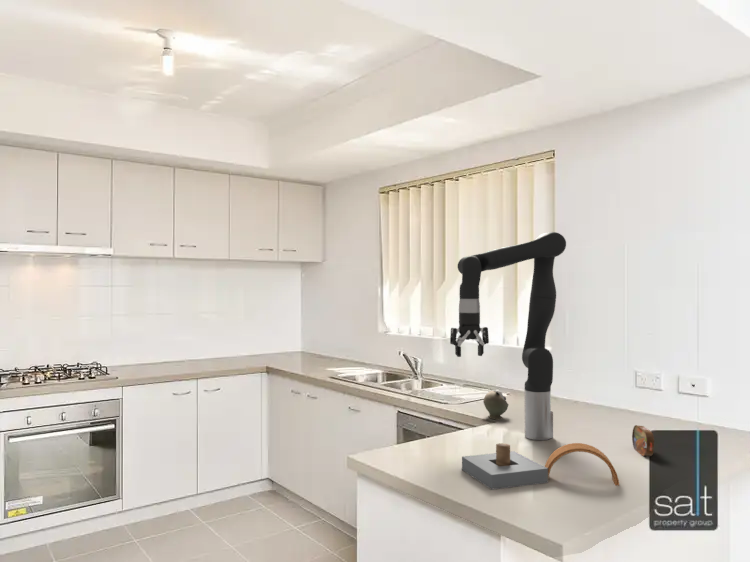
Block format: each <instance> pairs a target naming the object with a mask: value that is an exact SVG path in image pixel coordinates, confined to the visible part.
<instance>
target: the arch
mask: <svg viewBox="0 0 750 562" xmlns="http://www.w3.org/2000/svg"><path fill="white" fill-rule="evenodd" d="M578 452H579V453H588V454H590V455H594V456H596V457H598V458H599V459H600V460H602V461H603V462H604V463H605V464H606V465H607V467H608V468H609V470H610V474H611V481H612V483H613V484H614V485H615V486H616V487H617V486H620V480H619V476H618V473H617V471H616V469H615V467H614V466H613V464H612V462H611V461H610V459H609V458H608V456H606V454H605V453H604V452H602V451H601V450H600V449H599V448H597V447H595V446H593V445H590V444H587V443H581V442H575V443H574V442H573V443H567V444H565V445H561V446H560V447H558V448H556V449H555V450H554V451H553V452H552V453H551V454H550V455H549V457H548V458H547V460H546V463H545V465H544V467H546V468H548V479H549V477H550V473H551V471H552V468H553V466H554V464H555V463H557V461H558V460H560V458H562V457H564V456H566V455H568V454H571V453H578Z"/></svg>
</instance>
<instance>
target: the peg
mask: <svg viewBox="0 0 750 562" xmlns="http://www.w3.org/2000/svg"><path fill="white" fill-rule="evenodd" d="M495 448H496V449H495V451H496V452H495V453H496V465H497V466H499V467H500V466H509V465H510V451H511V445H510V444H509V443H504V442H503V443H496V445H495Z"/></svg>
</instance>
